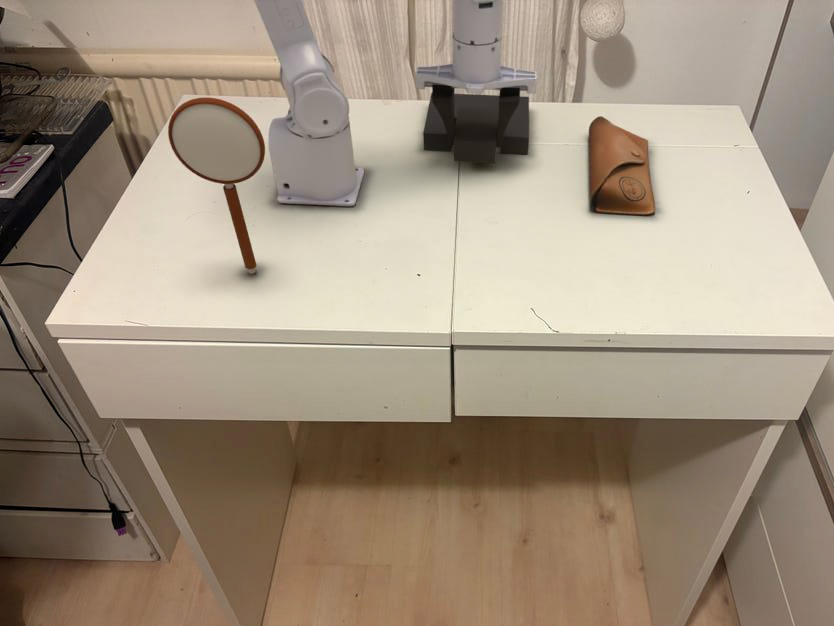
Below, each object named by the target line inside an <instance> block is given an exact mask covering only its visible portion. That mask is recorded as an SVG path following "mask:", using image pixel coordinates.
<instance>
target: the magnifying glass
mask: <svg viewBox="0 0 834 626" xmlns="http://www.w3.org/2000/svg"><path fill="white" fill-rule="evenodd" d="M167 132H168V133H167V135H168V141H169V144H170V147H171V149H172V151H173V153H174V155H175V156H176V158H177V159H178V160H179V162H180V163H181V164H182V166H183V167H185V168H186V169H188V170H189V171H190V172H191V173H193V174H194V175H196V176H197V177H199V178H202V179H203V180H206V181H208V182H210V183H211V182H212V183H215V184H221V185H223V187H222V189H223V193H224V196H225V200H226V203H227V207H228V210H229V214H230V218H231V221H232V224H233V225H232V226H233V229H234V231H235V236H236V239H237V242H238V247H239V249H240V254H241V257H242V261H243V264H244V268H245V269H246V270H248V273H249V274H251V275H252V274H253V275H254V274H255V273H256V272H257V270H256V268H257V262H256V258H255V254H254V250H253V246H252V243H251V239H250V234H249V231H248V227H247V223H246V219H245V215H244V212H243V208H242V205H241V202H240V197H239V193H238V190H237V186H236V184H240V183H242V182H245V181H247V180H249V179H251V178H252V177H254V176H255V175H256V174H257V173H258V172H259V170H260V169H261V167H262V166H263V164H264V161H265V157H266V145H265V144H266V143H265V139H264V136H263V134H262V131H261V130H260V128H259V126H258V125H257V123H256V122H255V121H254V119H253V118H252V117H251V116H250V115H249V114H248V113H247V112H246V111H244V110H243V109H242V108H240V107H239V106H237V105H235V104H233V103H231V102H229V101H227V100H223V99H221V98H215V97H197V98H192V99H189V100H187V101H185V102H183V103H182V104H181V105H179V106H178V107H177V108H176V109H175V110H174V112H173V113H172V115H171V116H170V119H169V122H168V126H167Z"/></svg>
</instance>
